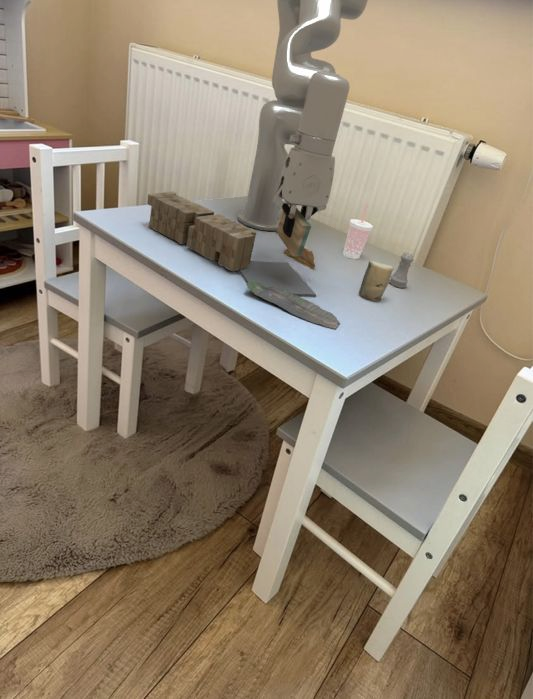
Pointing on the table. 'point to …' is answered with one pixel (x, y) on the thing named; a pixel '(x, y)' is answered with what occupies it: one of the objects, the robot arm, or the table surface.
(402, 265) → the rook chess piece
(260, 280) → the mat
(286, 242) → the plaque
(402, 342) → the table surface
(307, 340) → the table surface
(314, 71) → the robot arm
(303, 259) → the shard
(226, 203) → the table surface
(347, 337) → the table surface
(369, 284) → the beige rounded chunk
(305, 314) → the mossy stone slab
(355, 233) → the beverage cup
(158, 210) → the block tower
